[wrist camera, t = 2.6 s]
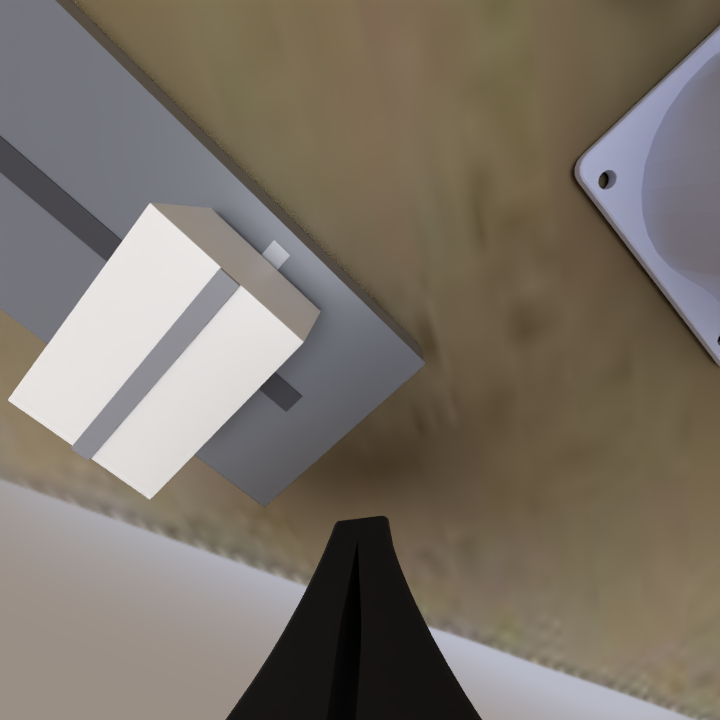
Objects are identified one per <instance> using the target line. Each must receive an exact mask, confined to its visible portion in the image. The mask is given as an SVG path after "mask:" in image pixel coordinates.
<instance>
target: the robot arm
mask: <svg viewBox="0 0 720 720" xmlns="http://www.w3.org/2000/svg"><path fill="white" fill-rule="evenodd" d="M603 172H605V173H607V174H608V177H609V181H608V184H607V186H606V187H605V188H604V189H602V188H600V187H599V184H598V180H599V177H600V175H601V174H602V173H603ZM575 177H576V179H577V182H578V183H579V184H580V185H581V187H582V188H583V189H584V191H585V192H586V193H587V195H588V196H589V197H590V199H591V200H592V201H593V202H594V204H595V205H596V206H597V208H598V209H599V210H600V212H601V213H602V214H603V215H604V217H605V218H606V219H607V221H608V222H609V223H610V225H611V226H612V227H613V229H614V230H615V231H616V232H617V234H618V235H619V236H620V238H621V239H622V240H623V242H624V243H625V244H626V246H627V247H628V248H629V249H630V251H631V252H632V253H633V255H634V256H635V257H636V259H637V260H638V261H639V262H640V264H641V265H642V266H643V268H644V269H645V270H646V272H647V273H648V274H649V276H650V277H651V278H652V279H653V281H654V282H655V283H656V285H657V286H658V287H659V289H660V290H661V291H662V293H663V294H664V295H665V296H666V298H667V299H668V300H669V302H670V303H671V304H672V306H673V307H674V308H675V309H676V311H677V312H678V313H679V315H680V316H681V317H682V319H683V320H684V321H685V323H686V324H687V325H688V326H689V328H690V329H691V330H692V332H693V333H694V334H695V336H696V337H697V338H698V340H699V341H700V342H701V343H702V345H703V346H704V347H705V349H706V350H707V351H708V353H709V354H710V355H711V356H712V358H713V359H714V360H715V362H716V363H717V364H718V365H719V366H720V341H719V342H717V340H718V337H719V336H720V25H719V26H718V27H717V28H716V29H715V30H714V31H713V32H712V33H711V34H710V35H709V36H707V37H706V38H705V39H704V40H703V41H702V42H701V43H700V44H699V45H698V46H697V47H696V48H695V49H694V50H693V51H692V52H691V53H689V54H688V55H687V56H686V57H685V58H684V59H683V60H682V61H681V62H680V63H679V64H678V65H677V66H676V67H675V68H674V69H673V70H671V71H670V72H669V73H668V74H667V75H666V76H665V77H664V78H663V79H662V80H661V81H660V82H659V83H658V84H657V85H656V86H655V87H654V88H652V89H651V90H650V91H649V92H648V93H647V94H646V95H645V96H644V97H643V98H642V99H641V100H640V101H639V102H638V103H637V104H636V105H634V106H633V107H632V108H631V109H630V110H629V111H628V112H627V113H626V114H625V115H624V116H623V117H622V118H621V119H620V120H619V121H618V122H616V123H615V124H614V125H613V126H612V127H611V128H610V129H609V130H608V131H607V132H606V133H605V134H604V135H603V136H602V137H601V138H600V139H598V140H597V141H596V142H595V143H594V144H593V145H592V146H591V147H590V148H589V149H588V150H587V151H586V152H585V153H584V154H583V155H582V156H581V157H580V158H579V160H578V161H577V163H576V166H575ZM226 720H482V719H481V718H480V716H479V714H478V713H477V711H476V710H475V709H474V707H473V705H472V704H471V702H470V700H469V699H468V698H467V696H466V694H465V693H464V691H463V689H462V688H461V686H460V684H459V683H458V681H457V679H456V677H455V676H454V674H453V673H452V671H451V669H450V667H449V666H448V664H447V662H446V660H445V659H444V657H443V655H442V653H441V651H440V650H439V648H438V646H437V644H436V642H435V641H434V639H433V637H432V635H431V633H430V631H429V629H428V627H427V625H426V623H425V621H424V619H423V617H422V615H421V613H420V611H419V609H418V607H417V605H416V603H415V600H414V598H413V596H412V594H411V592H410V589H409V587H408V584H407V582H406V580H405V577H404V575H403V572H402V570H401V567H400V565H399V562H398V559H397V556H396V553H395V550H394V547H393V542H392V537H391V531H390V526H389V520H388V518H386V517H385V516H376V517H368V518H360V519H352V520H344V521H338V522H337V523H336V524H335V526H334V528H333V531H332V534H331V536H330V539H329V541H328V544H327V546H326V548H325V551H324V553H323V555H322V558H321V560H320V562H319V564H318V566H317V569H316V571H315V573H314V575H313V577H312V579H311V581H310V583H309V585H308V587H307V589H306V591H305V593H304V595H303V597H302V599H301V601H300V603H299V605H298V607H297V608H296V610H295V612H294V614H293V615H292V617H291V619H290V621H289V623H288V624H287V626H286V628H285V630H284V632H283V633H282V635H281V637H280V638H279V640H278V642H277V643H276V645H275V647H274V649H273V650H272V652H271V653H270V655H269V657H268V658H267V660H266V661H265V663H264V664H263V666H262V668H261V669H260V671H259V672H258V674H257V675H256V677H255V678H254V680H253V681H252V683H251V684H250V686H249V687H248V688H247V690H246V691H245V693H244V694H243V696H242V697H241V699H240V700H239V701H238V703H237V704H236V706H235V707H234V709H233V710H232V711H231V713H230V714H229V716H228V717H227V718H226Z"/></svg>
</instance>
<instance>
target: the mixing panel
mask: <svg viewBox="0 0 720 720" xmlns="http://www.w3.org/2000/svg"><path fill="white" fill-rule="evenodd" d="M149 203H157V204H169V205H182V206H194V207H206V208H211V209H212V210H213V211H215V212H216V213H217V214H218V215H219V216H220V217H221V218H222V219H223V220H224V221H225V222H226V223H227V224H228V225H229V226H230V227H232V228H233V229H234V230H235V231H236V232H237V233H238V234H239V235H240V236H241V237H242V238H243V239H244V240H245V241H246V242H248V243H249V244H250V245H251V246H252V247H253V248H254V249H255V250H256V251H257V252H258V253H259V254H260V255H261V256H262V257H263V258H265V259H266V260H267V261H268V262H269V263H270V264H271V265H272V266H273V267H274V268H275V269H276V270H277V271H278V272H279V273H280V274H282V275H283V276H284V277H285V278H286V279H287V280H288V281H289V282H290V283H291V284H292V285H293V286H294V287H295V288H296V289H297V290H299V291H300V292H301V293H302V294H303V295H304V296H305V297H306V298H307V299H308V300H309V301H310V302H311V303H312V304H313V305H315V306H316V307H317V308H318V309H319V310H320V311H321V312H320V314H319V316H318V317H317V319H316V321H315V323H314V325H313V326H312V328H311V330H310V332H309V334H308V335H307V337H306V339H305V341H304V342H303V343H302V345H301V346H300V347H299V348H298V349H297V350H296V351H295V352H294V353H293V354H292V355H291V356H290V357H289V358H288V359H287V360H286V361H285V362H284V363H283V364H282V365H281V366H280V367H279V368H278V369H277V370H276V371H275V372H274V373H273V374H272V375H271V376H270V377H269V378H268V379H267V380H266V381H265V382H264V383H263V384H262V385H261V386H260V388H259V389H258V390H257V391H256V392H255V393H254V394H253V395H252V396H251V397H250V398H249V399H248V400H247V401H246V402H245V403H244V404H243V405H242V406H241V407H240V408H239V409H238V410H237V411H236V412H235V413H234V414H233V415H232V416H231V417H230V418H229V419H228V420H227V421H226V422H225V423H224V424H223V425H222V426H221V427H220V428H219V429H218V430H217V432H216V433H215V434H214V435H213V436H212V437H211V438H210V439H209V440H208V441H207V442H206V443H205V444H204V445H203V446H202V447H201V448H200V449H199V450H198V451H197V452H196V453H195V454H194V455H195V456H197V457H198V458H199V459H201V460H202V461H203V462H205V463H206V464H207V465H209V466H210V467H211V468H213V469H214V470H215V471H217V472H218V473H219V474H221V475H222V476H223V477H225V478H226V479H227V480H229V481H230V482H231V483H233V484H234V485H235V486H237V487H238V488H239V489H241V490H242V491H243V492H245V493H246V494H247V495H249V496H250V497H251V498H253V499H254V500H255V501H257V502H258V503H259V504H261V505H262V506H263V507H265V506H266V505H267V504H269V503H270V502H271V501H272V500H273V499H274V498H275V497H276V496H278V495H279V494H280V493H281V492H282V491H283V490H284V489H285V488H287V487H288V486H289V485H290V484H291V483H292V482H293V481H294V480H296V479H297V478H298V477H299V476H300V475H301V474H302V473H303V472H305V471H306V470H307V469H308V468H309V467H310V466H311V465H312V464H314V463H315V462H316V461H317V460H318V459H319V458H320V457H321V456H323V455H324V454H325V453H326V452H327V451H328V450H329V449H330V448H331V447H333V446H334V445H335V444H336V443H337V442H338V441H339V440H340V439H342V438H343V437H344V436H345V435H346V434H347V433H348V432H349V431H351V430H352V429H353V428H354V427H355V426H356V425H357V424H358V423H360V422H361V421H362V420H363V419H364V418H365V417H366V416H367V415H369V414H370V413H371V412H372V411H373V410H374V409H375V408H376V407H378V406H379V405H380V404H381V403H382V402H383V401H384V400H385V399H387V398H388V397H389V396H390V395H391V394H392V393H393V392H394V391H396V390H397V389H398V388H399V387H400V386H401V385H402V384H403V383H405V382H406V381H407V380H408V379H409V378H410V377H411V376H412V375H414V374H415V373H416V372H417V371H418V370H419V369H420V368H421V367H423V366H424V365H425V364H426V363H425V360H424V357H423V355H422V352H421V350H420V347H419V344H418V343H417V342H416V341H415V340H414V339H413V338H412V337H411V336H410V335H409V334H408V333H407V332H406V331H405V330H404V329H403V328H402V327H401V326H399V325H398V324H397V323H396V322H395V321H394V320H393V319H392V318H391V317H390V316H389V315H388V314H387V313H386V312H385V311H384V310H383V309H382V308H381V307H380V306H379V305H378V304H377V303H376V302H375V301H374V300H373V299H372V298H371V297H370V296H369V295H368V294H367V293H366V292H365V291H364V290H363V289H362V288H361V287H360V286H359V285H358V284H357V283H356V282H355V281H354V280H353V279H352V278H351V277H350V276H349V275H348V274H347V273H346V272H345V271H344V270H343V269H342V268H341V267H340V266H339V265H338V264H337V263H336V262H335V261H334V260H333V259H332V258H331V257H330V256H329V255H328V254H327V253H326V252H325V251H324V250H323V249H322V248H321V247H320V246H319V245H318V244H317V243H316V242H315V241H314V240H313V239H312V238H311V237H310V236H309V235H308V234H307V233H306V232H305V231H304V230H303V229H302V228H301V227H300V226H299V225H298V224H296V223H295V222H294V221H293V220H292V219H291V218H290V217H289V216H288V215H287V214H286V213H285V212H284V211H283V210H282V209H281V208H280V207H279V206H278V205H277V204H276V203H275V202H274V201H273V200H272V199H271V198H270V197H269V196H268V195H267V194H266V193H265V192H264V191H263V190H262V189H261V188H260V187H259V186H258V185H257V184H256V183H255V182H254V181H253V180H252V179H251V178H250V177H249V176H248V175H247V174H246V173H245V172H244V171H243V170H242V169H241V168H240V167H239V166H238V165H237V164H236V163H235V162H234V161H233V160H232V159H231V158H230V157H229V156H228V155H227V154H226V153H225V152H224V151H223V150H222V149H221V148H220V147H219V146H218V145H217V144H216V143H215V142H214V141H213V140H212V139H211V138H210V137H209V136H208V135H207V134H206V133H205V132H204V131H203V130H202V129H201V128H200V127H199V126H198V125H197V124H196V123H195V122H194V121H192V120H191V119H190V118H189V117H188V116H187V115H186V114H185V113H184V112H183V111H182V110H181V109H180V108H179V107H178V106H177V105H176V104H175V103H174V102H173V101H172V100H171V99H170V98H169V97H168V96H167V95H166V94H165V93H164V92H163V91H162V90H161V89H160V88H159V87H158V86H157V85H156V84H155V83H154V82H153V81H152V80H151V79H150V78H149V77H148V76H147V75H146V74H145V73H144V72H143V71H142V70H141V69H140V68H139V67H138V66H137V65H136V64H135V63H134V62H133V61H132V60H131V59H130V58H129V57H128V56H127V55H126V54H125V53H124V52H123V51H122V50H121V49H120V48H119V47H118V46H117V45H116V44H115V43H114V42H113V41H112V40H111V39H110V38H109V37H108V36H107V35H106V34H105V33H104V32H103V31H102V30H101V29H100V28H99V27H98V26H97V25H96V24H95V23H94V22H93V21H92V20H91V19H90V18H88V17H87V16H86V15H85V14H84V13H83V12H82V11H81V10H80V9H79V8H78V7H77V6H76V5H75V4H74V3H73V2H72V1H71V0H0V309H1V310H3V311H4V312H5V313H7V314H8V315H9V316H11V317H12V318H13V319H15V320H16V321H17V322H19V323H20V324H21V325H23V326H24V327H25V328H27V329H28V330H29V331H31V332H32V333H33V334H35V335H36V336H37V337H39V338H40V339H41V340H43V341H44V342H45V343H47V344H49V342H50V341H51V339H52V338H53V337H54V335H55V334H56V332H57V331H58V330H59V328H60V327H61V326H62V324H63V323H64V321H65V320H66V319H67V317H68V316H69V314H70V313H71V312H72V310H73V309H74V308H75V306H76V305H77V303H78V302H79V301H80V299H81V298H82V296H83V295H84V294H85V292H86V291H87V289H88V288H89V287H90V285H91V284H92V283H93V281H94V280H95V278H96V277H97V276H98V274H99V273H100V271H101V270H102V269H103V267H104V266H105V264H106V263H107V262H108V260H109V259H110V258H111V256H112V255H113V253H114V252H115V251H116V249H117V248H118V246H119V245H120V244H121V242H122V241H123V239H124V238H125V237H126V235H127V234H128V233H129V231H130V230H131V228H132V227H133V226H134V224H135V223H136V221H137V220H138V219H139V217H140V216H141V215H142V213H143V212H144V210H145V209H146V208H147V206H148V205H149Z"/></svg>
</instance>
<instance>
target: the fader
mask: <svg viewBox="0 0 720 720" xmlns="http://www.w3.org/2000/svg"><path fill="white" fill-rule="evenodd" d="M320 312H321V311H320V310H319V309H318V308H317V307H316V306H315V305H313V304H312V303H311V302H310V301H309V300H308V299H307V298H306V297H305V296H304V295H303V294H302V293H301V292H300V291H299V290H297V289H296V288H295V287H294V286H293V285H292V284H291V283H290V282H289V281H288V280H287V279H286V278H285V277H284V276H283V275H282V274H280V273H279V272H278V271H277V270H276V269H275V268H274V267H273V266H272V265H271V264H270V263H269V262H268V261H267V260H266V259H265V258H263V257H262V256H261V255H260V254H259V253H258V252H257V251H256V250H255V249H254V248H253V247H252V246H251V245H250V244H249V243H248V242H246V241H245V240H244V239H243V238H242V237H241V236H240V235H239V234H238V233H237V232H236V231H235V230H234V229H233V228H232V227H230V226H229V225H228V224H227V223H226V222H225V221H224V220H223V219H222V218H221V217H220V216H219V215H218V214H217V213H216V212H215V211H213V210H212V209H211V208H206V207H194V206H182V205H169V204H157V203H149V205H148V206H147V208H146V209H145V210H144V212H143V213H142V215H141V216H140V217H139V219H138V220H137V221H136V223H135V224H134V226H133V227H132V228H131V230H130V231H129V233H128V234H127V235H126V237H125V238H124V239H123V241H122V242H121V244H120V245H119V246H118V248H117V249H116V251H115V252H114V253H113V255H112V256H111V258H110V259H109V260H108V262H107V263H106V264H105V266H104V267H103V269H102V270H101V271H100V273H99V274H98V276H97V277H96V278H95V280H94V281H93V283H92V284H91V285H90V287H89V288H88V289H87V291H86V292H85V294H84V295H83V296H82V298H81V299H80V301H79V302H78V303H77V305H76V306H75V308H74V309H73V310H72V312H71V313H70V314H69V316H68V317H67V319H66V320H65V321H64V323H63V324H62V326H61V327H60V328H59V330H58V331H57V332H56V334H55V335H54V337H53V338H52V339H51V341H50V342H49V344H48V345H47V346H46V348H45V349H44V351H43V352H42V353H41V355H40V356H39V357H38V359H37V360H36V362H35V363H34V364H33V366H32V367H31V369H30V370H29V371H28V373H27V374H26V376H25V377H24V378H23V380H22V381H21V382H20V384H19V385H18V387H17V388H16V389H15V391H14V392H13V394H12V395H11V396H10V398H9V399H8V401H10V402H11V403H13V404H14V405H15V406H17V407H18V408H20V409H21V410H23V411H24V412H25V413H27V414H28V415H30V416H31V417H33V418H34V419H35V420H37V421H38V422H40V423H41V424H43V425H44V426H45V427H47V428H48V429H50V430H51V431H53V432H54V433H55V434H57V435H58V436H60V437H61V438H63V439H64V440H65V441H67V442H68V443H70V444H71V445H73V446H72V447H71V449H72V450H74V451H75V452H76V453H78V454H79V455H81V456H82V457H84V458H85V459H86V460H88V461H89V460H90V459H93V460H94V461H96V462H97V463H98V464H100V465H101V466H103V467H104V468H106V469H107V470H108V471H110V472H111V473H113V474H114V475H116V476H117V477H118V478H120V479H121V480H123V481H124V482H126V483H127V484H128V485H130V486H131V487H133V488H134V489H136V490H137V491H138V492H140V493H141V494H143V495H144V496H146V497H147V498H149V499H151V498H152V497H153V496H154V495H155V494H156V493H157V492H158V491H159V490H160V489H161V488H162V487H163V486H164V485H165V484H166V483H167V482H168V481H169V480H170V479H171V478H172V477H173V476H174V475H175V473H176V472H177V471H178V470H179V469H180V468H181V467H182V466H183V465H184V464H185V463H186V462H187V461H188V460H189V459H190V458H191V457H192V456H193V455H194V454H195V453H196V452H197V451H198V450H199V449H200V448H201V447H202V446H203V445H204V444H205V443H206V442H207V441H208V440H209V439H210V438H211V437H212V436H213V435H214V434H215V433H216V432H217V430H218V429H219V428H220V427H221V426H222V425H223V424H224V423H225V422H226V421H227V420H228V419H229V418H230V417H231V416H232V415H233V414H234V413H235V412H236V411H237V410H238V409H239V408H240V407H241V406H242V405H243V404H244V403H245V402H246V401H247V400H248V399H249V398H250V397H251V396H252V395H253V394H254V393H255V392H256V391H257V390H258V389H259V388H260V386H261V385H262V384H263V383H264V382H265V381H266V380H267V379H268V378H269V377H270V376H271V375H272V374H273V373H274V372H275V371H276V370H277V369H278V368H279V367H280V366H281V365H282V364H283V363H284V362H285V361H286V360H287V359H288V358H289V357H290V356H291V355H292V354H293V353H294V352H295V351H296V350H297V349H298V348H299V347H300V346H301V345H302V343H303V342H304V341H305V339H306V337H307V335H308V334H309V332H310V330H311V328H312V326H313V325H314V323H315V321H316V319H317V317H318V316H319V314H320Z"/></svg>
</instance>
